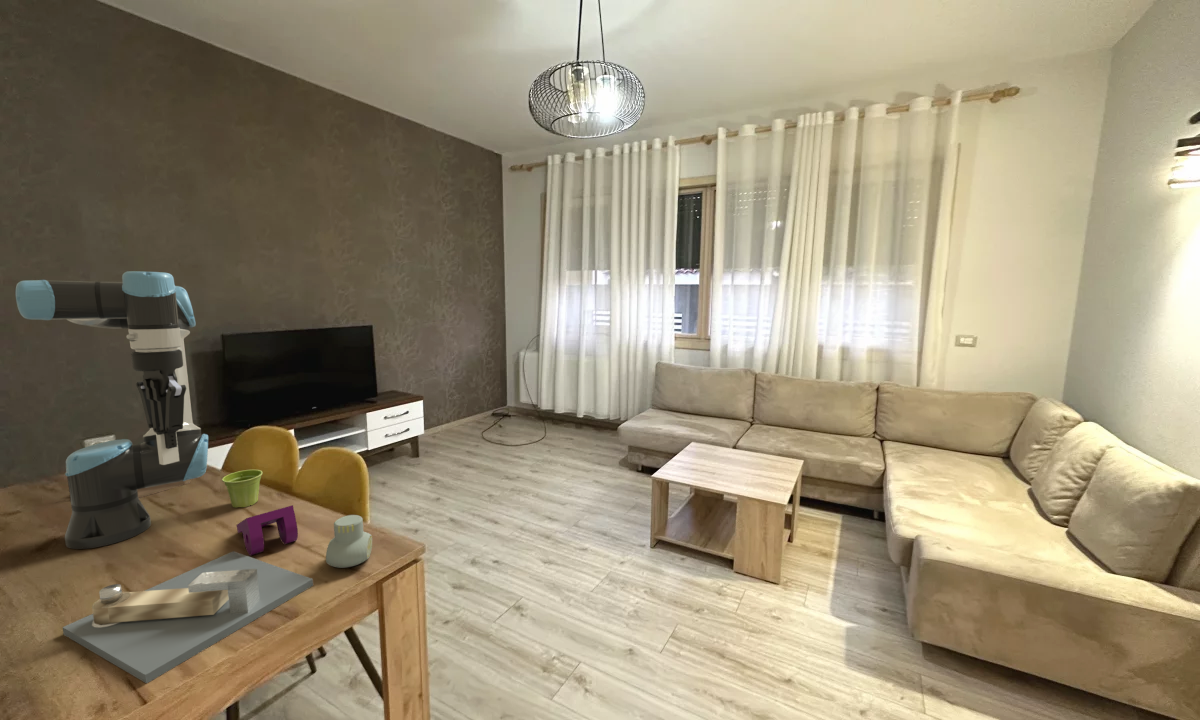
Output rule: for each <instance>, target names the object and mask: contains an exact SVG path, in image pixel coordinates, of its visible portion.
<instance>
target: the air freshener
mask: <svg viewBox="0 0 1200 720" xmlns="http://www.w3.org/2000/svg"><path fill="white" fill-rule="evenodd" d="M363 519H364V518H363V517H362V516H360V515H358V514H348V515H345V516H342V517H340V518H338V519H336V520H335V522H334V523H333V532H334V533H333V535H334V536H333V538H331V539H330V541H329V543H328V545H327V547H326V552H325V562H326V564H328V565H329V566H331V567H333V568H340V569H341V568H342V569H345V568H351V567H355V566H358V565H360V564H362V563H364V562H365V561H367V560H368V559H369V558H370V557H371V553H372V548H373V535H372V534H371V533H369V532H368V531H367V532H366V531H364V520H363Z"/></svg>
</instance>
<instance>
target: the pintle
mask: <svg viewBox="0 0 1200 720" xmlns="http://www.w3.org/2000/svg"><path fill="white" fill-rule="evenodd" d="M122 592H123V591H122V585H121V584H120V583H114V584H110V585H107V586H105V587H102V588H101V589H100V590H99V592H98V593H99V599H100V602H101V603H103V604H105V603H110V602H113V601H116V600H118V599H120V598H121V597H122ZM118 623H121V622H114V623H107V624H95V623H94V621H93V622H92V626H93V627H94V628H105V627H109V626H113V625H116V624H118Z"/></svg>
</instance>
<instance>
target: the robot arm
mask: <svg viewBox="0 0 1200 720" xmlns="http://www.w3.org/2000/svg"><path fill="white" fill-rule="evenodd" d="M121 276H122V277H121V279H122V280H121V281H83V280H82V281H80V280H78V281H77V280H46V279H39V280H38V279H36V280H33V279H31V280H20V281H19V282H18V283H16V287H15V300H16V301H15V302H16V305H17V309H18V311H19V314H20V315H21V316H22V317H23V318H24V319H26V320H37V321H38V320H40V321H42V320H43V321H51V320H55V321H56V320H57V321H58V320H62V321H63V320H67V321H68V322H70V323H73V324H77V325H81V326H87V327H93V328H94V327H95V328H101V329H102V328H103V329H116V330H117V329H125V330H126V329H128V331H127V332H128V334H126V339H127V340H129V346H130V348H131V350H134V351H131V353H130V356H131V357H130V358H131V365H132V366H131V367H132V369H133V370H134V371H136V372H143V373H142V374H143V375H142V379H143V380H142V381H137V382H136V383H135V385H136V388H137V390H138V393H139V395H140V399H141V403H142V406H143V407H142V408H143V410H144V411H143V412H144V416H145V418H146V419H145V420H146V422H147V427H148V429H149V430H148V431H146V433H145V434H143V436H142V439H143V442H142V443H135V444H133V441H131V439H127V438H121V439H114V440H107V441H104V442H99V443H95V444H92V445H87V446H86V447H83V448H80V449H77V450H75V451H73V452H72V453H71V454H69V455H68V456H67V458H66V460H65V473H64V474H65V476H66V478H67V484H68V492H69V498H70V505H71V516H70V519H69V521H68V525H67V528H66V532H65V534H64V541H65V546H66V548H69V549H74V550H83V549H84V550H85V549H93V548H100V547H104V546H109V545H112V544H116V543H120V542H123V541H126V540H129V539H131V538H133V537H136V536H138V535H139V534H140V535H141V534H142V533H143V532H145V531H146V530H148V529H149V528H150V527H151V526H152V522H151V515H150V513H149V512H148V511H147V509H146V508H145V506H144V504H143V503H142V501H141V500H140V498H138V492H137V489H142V488H147V487H153V486H158V485H164V484H169V483H174V482H180V481H186V480H189V479H190V480H193V479H198V478H201V477H202V476H204V475H205V474H206V471H207V467H208V466H207V465H208V454H209V453H208V452H209V435H208V434H207V433H202V428H201V427H199V426H197V425H196V424H194V421H193V413H192V405H191V396H190V395H191V393H190V385H189V377H188V367H187V358H186V357H187V356H186V350H185V342H184V341H185V340H184V339H185V338H186V337H188V336H189V335H190V334H191V331H190V330H191V329H190V328H193V327H196V326H197V325H196V318H195V315H194V310H193V306H192V302H191V300H190V295H189V294H188V291H187V290H186V289H185V288H184V287H182V286H180V285H175V278H174V276H173V275H172V274H171V273H168V272H161V271H160V272H159V271H139V270H137V271H136V270H133V271H132V270H131V271H129V270H128V271H125V272H124V273H123V274H122V275H121Z"/></svg>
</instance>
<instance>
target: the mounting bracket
mask: <svg viewBox="0 0 1200 720" xmlns="http://www.w3.org/2000/svg"><path fill="white" fill-rule="evenodd" d="M275 523H276V528H277V532H278V536H279V539H280V541H281V542H282V544H283V545H286V544H290V543H293V542H295V541H297V540H298V538H299V537H298V535H299V532H298V531H299V530H298V529H299V528H298V524H297V519H296V514H295V509H294V505H289V506H285V507H281V508H278V509H277V508H276V509H274V510H270V511H268V512H264V513H260V514H256V515H252V516H250V517H246V518H245V519H243V520H242V521H240V522H238V523H237V524H236V525H235V526H236V530H237V533H238V534H240V533H242V537H243V543H244V545H245V550H246V552H247V554H248V556H249V557H252V556H253V555H257V554H260V553H262V552H264V549H265V539H264V533H263V527H266V526H269V525H272V524H275Z"/></svg>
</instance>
